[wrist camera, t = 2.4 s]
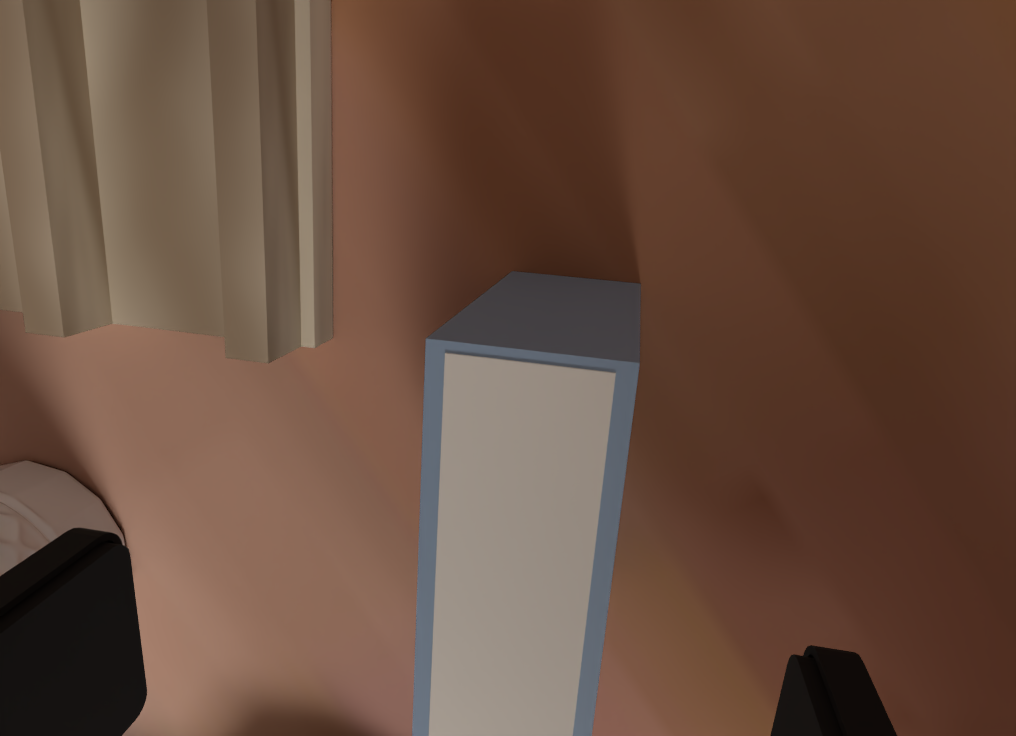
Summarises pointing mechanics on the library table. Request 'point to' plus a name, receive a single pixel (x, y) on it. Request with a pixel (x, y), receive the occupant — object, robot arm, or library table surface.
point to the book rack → (168, 169)
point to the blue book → (522, 504)
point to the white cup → (43, 510)
